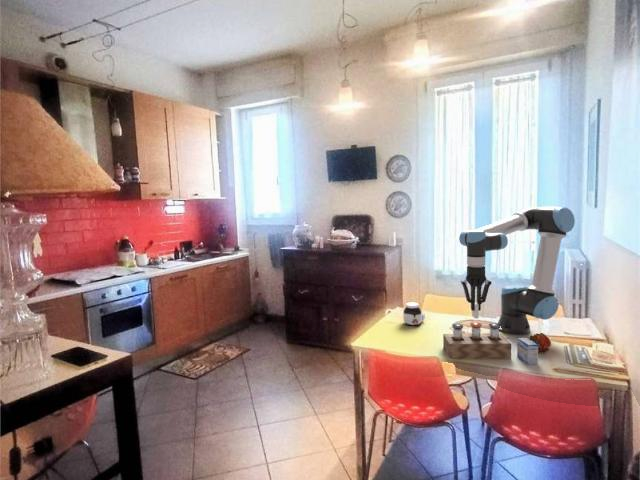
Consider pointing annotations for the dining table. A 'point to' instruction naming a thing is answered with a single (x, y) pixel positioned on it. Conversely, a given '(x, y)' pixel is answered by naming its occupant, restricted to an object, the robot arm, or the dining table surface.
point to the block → (477, 347)
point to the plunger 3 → (494, 331)
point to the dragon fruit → (541, 341)
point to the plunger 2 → (475, 331)
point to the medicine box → (527, 351)
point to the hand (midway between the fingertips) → (475, 317)
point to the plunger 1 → (457, 331)
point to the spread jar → (413, 314)
